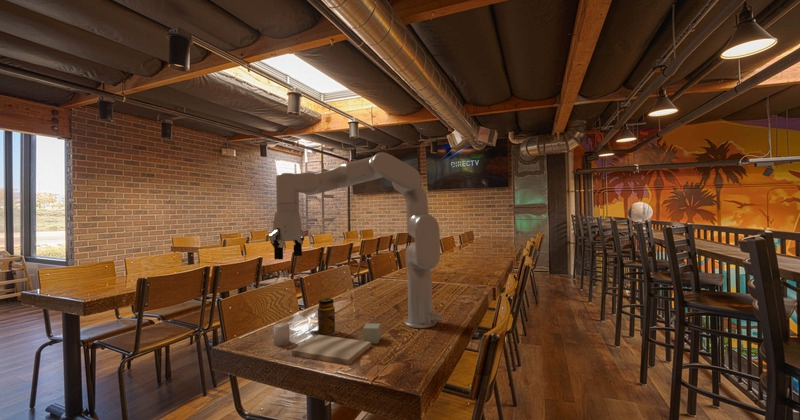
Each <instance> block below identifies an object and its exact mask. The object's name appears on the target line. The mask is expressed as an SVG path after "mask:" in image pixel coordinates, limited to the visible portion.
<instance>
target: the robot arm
mask: <svg viewBox="0 0 800 420" xmlns="http://www.w3.org/2000/svg"><path fill="white" fill-rule="evenodd" d="M382 178H385V179H386V180H388V181H390V182H391V184H392V187H393V188H394V190H396V191H397V192H398V193H400V194H401V195H402V197H403V198H404V200H405V205H406V230H407V234H408V235H409V236H410V237H411V238H414V242H411V243H409V245H408V246H407V247H406V250H405V254H404V256H405V259H404V260H405V267H406V273H407V316H408V317H406V318H405V319H404V321H403V323H404V325H405V326H407V327H409V328H412V329H428V328H431V327H432V328H433V327H434V326H436V325H437V322H441V323H442V322H443V321H444V316H443V315H442V314H436V313H435V310H433V277H432V270H433V269H434V268H436V267H437V265H438V264H439V261H440V259H441V237H440V236H441V233H440V226H439V223H438V221H437V218H435V217H434V216H433V215H432V214H431V215H430V214H429V201H428V196H427V193H426V191H425V189H424V187H423V186H422V185H421V183H422V176H421V174H420V172H419V170H417V169H416V168H415V167H413V166H412V165H409V164H408V163H406V162H404V161H402V160H401V159H399V158H397V157H396V156H393V155H392V154H389V153H387V152H383V151H382V152H378V153H376V154H374V156H371V157H366V158H363V159H356V160H353V161H348V162H345V163H343V164H340V165H339V166H336V167H334V168H332V169H328V170H327V171H322V172H318V173H314V172H311V171H310V172H300V173H292V172H281V173H278V174H276V177H275V186H276V187H275V190H276V192H275V195H276V197H275V198H276V201H275V202H276V212H275V213H274V216H273V224H272V232H271V233H269V235H268V239H269V240H270V244H271V245H272V247H273V248H274V253H273V254H274V255H273V256H274V258H273V259H274V260H279V261H280V260H284V247H283V245H284V243H285V242H293V243H294V244H293V256H295V257H301V256H303V246H302V245H303V244H304V240H305V236H306V232H305V231H304V230H303V229H302V222H301V221H302V220H301V215H300V194H301V193H303V195H306V196H314V195H318V194H321V193H325V192H326V193H327V192H329V191H333V190H338V189H342V188H348V187H350V186H355V185H358V184H361V183H366V182H367V183H368V182H370V181H371V182H372V181H375V180H378V179H382Z"/></svg>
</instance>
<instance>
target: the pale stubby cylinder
mask: <svg viewBox="0 0 800 420" xmlns="http://www.w3.org/2000/svg"><path fill="white" fill-rule="evenodd" d="M290 339H291V337H290V323H289V322H280V323H276V324H274V325H273V345H274V346H276V347H282V346H286V345H289V344H290Z"/></svg>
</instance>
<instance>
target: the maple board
mask: <svg viewBox="0 0 800 420" xmlns="http://www.w3.org/2000/svg"><path fill="white" fill-rule="evenodd" d="M371 344H372V343H371V342H368V341H363V340H361V339H353V338H352V339H351V338H347V337H346V338H345V337H339V336H338V337H337V336H331V335H328V336H324V335H318V336H316V337H315V336H313V337H312V338H311V339H309V340H308V341H305V342H304V343H302V344H300V345H299V346H297V347H295V348H293V349H292V350H291V356H294V357H300V358H306V359H311V360H318V361H323V362H328V363H336V364H341V365H350V364H351V363H353V362H354V361H355V360H356V359H358V358H359V357H360V356H361V355H363V353H365V352H366V351H367V350H369V349H370V348H371Z"/></svg>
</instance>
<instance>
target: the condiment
mask: <svg viewBox="0 0 800 420" xmlns="http://www.w3.org/2000/svg"><path fill="white" fill-rule="evenodd" d="M334 305H335V304H334V299H333V298H332V297H326V298H321V299H319V300H318V308H317V330H311V331H309V333H310V334H311V335H312V336H313V337H316V336H318V335H324V336H331V335H333V336H334V335H336V334H339V331H337V330H336V315H335V314H336V312H335V309H336V307H335V306H334Z"/></svg>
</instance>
